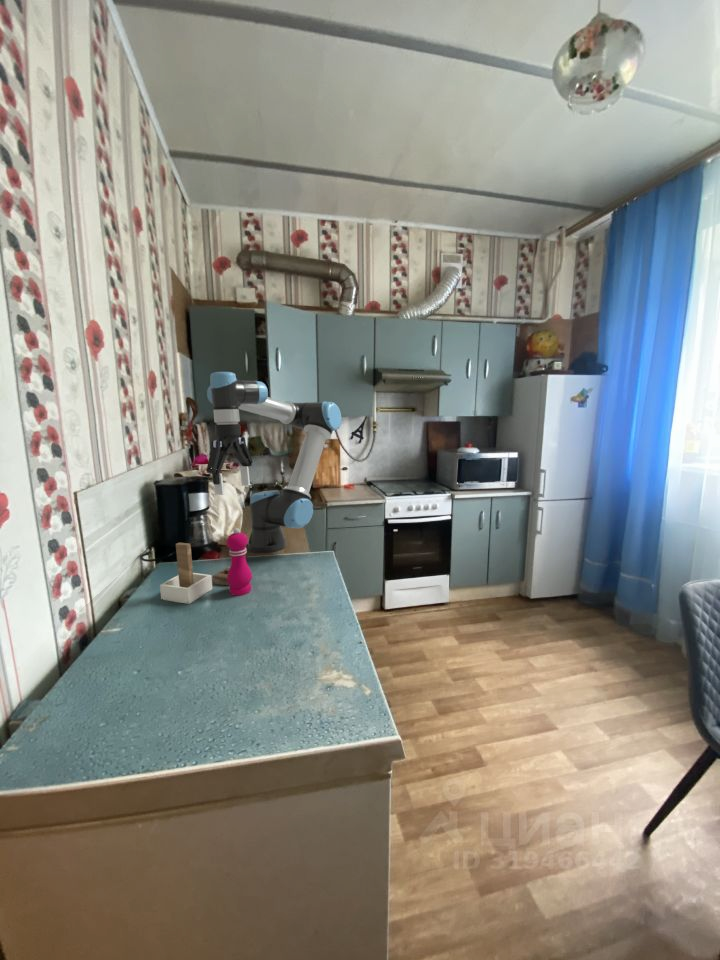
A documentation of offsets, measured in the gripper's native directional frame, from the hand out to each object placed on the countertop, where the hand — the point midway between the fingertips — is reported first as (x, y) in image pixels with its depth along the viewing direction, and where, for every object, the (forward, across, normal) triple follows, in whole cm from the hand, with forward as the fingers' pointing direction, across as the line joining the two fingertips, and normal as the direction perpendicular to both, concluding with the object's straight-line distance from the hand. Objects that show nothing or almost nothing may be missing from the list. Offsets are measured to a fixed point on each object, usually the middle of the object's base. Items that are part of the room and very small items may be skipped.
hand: (233, 489), depth 120 cm
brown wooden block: (+28, +17, -7) cm, 34 cm away
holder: (+29, +4, -1) cm, 30 cm away
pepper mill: (+29, +10, +7) cm, 32 cm away
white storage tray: (+29, +17, -7) cm, 34 cm away
